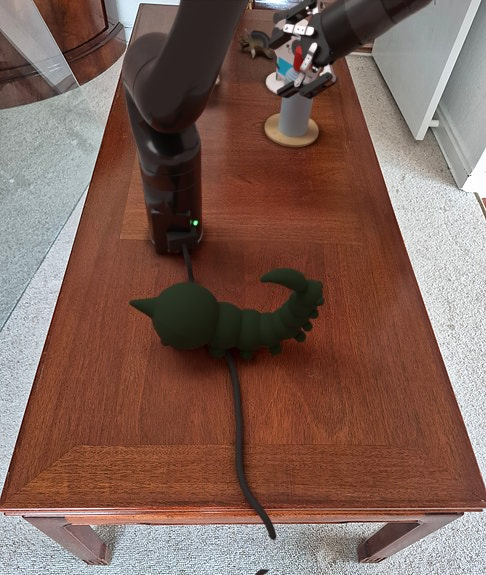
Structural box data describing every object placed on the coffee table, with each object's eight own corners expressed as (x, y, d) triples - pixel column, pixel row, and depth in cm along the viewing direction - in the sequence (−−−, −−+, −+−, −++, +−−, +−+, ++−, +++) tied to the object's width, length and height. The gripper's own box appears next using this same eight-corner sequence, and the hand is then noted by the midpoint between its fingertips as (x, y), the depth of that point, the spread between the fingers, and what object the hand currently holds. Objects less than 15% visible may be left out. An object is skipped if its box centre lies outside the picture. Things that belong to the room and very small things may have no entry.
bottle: (307, 138, 100) (323, 62, 86) (278, 136, 99) (289, 60, 86) (306, 120, 103) (320, 45, 90) (277, 118, 103) (288, 43, 90)
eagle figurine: (236, 57, 117) (271, 55, 115) (236, 25, 115) (272, 23, 113) (243, 60, 124) (276, 59, 122) (242, 30, 122) (276, 29, 120)
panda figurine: (255, 78, 114) (260, 13, 102) (289, 66, 118) (298, 2, 106) (286, 102, 108) (296, 36, 96) (321, 88, 113) (334, 24, 101)
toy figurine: (293, 324, 74) (136, 306, 71) (329, 247, 59) (131, 222, 56) (295, 378, 68) (125, 361, 66) (335, 309, 53) (116, 283, 51)
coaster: (320, 149, 99) (321, 146, 98) (264, 145, 98) (265, 143, 98) (316, 116, 106) (316, 113, 105) (264, 112, 105) (264, 110, 105)
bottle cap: (313, 74, 89) (317, 56, 86) (293, 72, 89) (296, 54, 86) (312, 63, 92) (315, 45, 89) (292, 62, 92) (295, 44, 89)
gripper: (337, -40, 66) (253, 23, 76) (357, 55, 65) (269, 105, 76) (362, -18, 71) (280, 38, 82) (380, 70, 70) (295, 114, 81)
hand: (275, 70), depth 79 cm, fingers open, 8 cm apart
